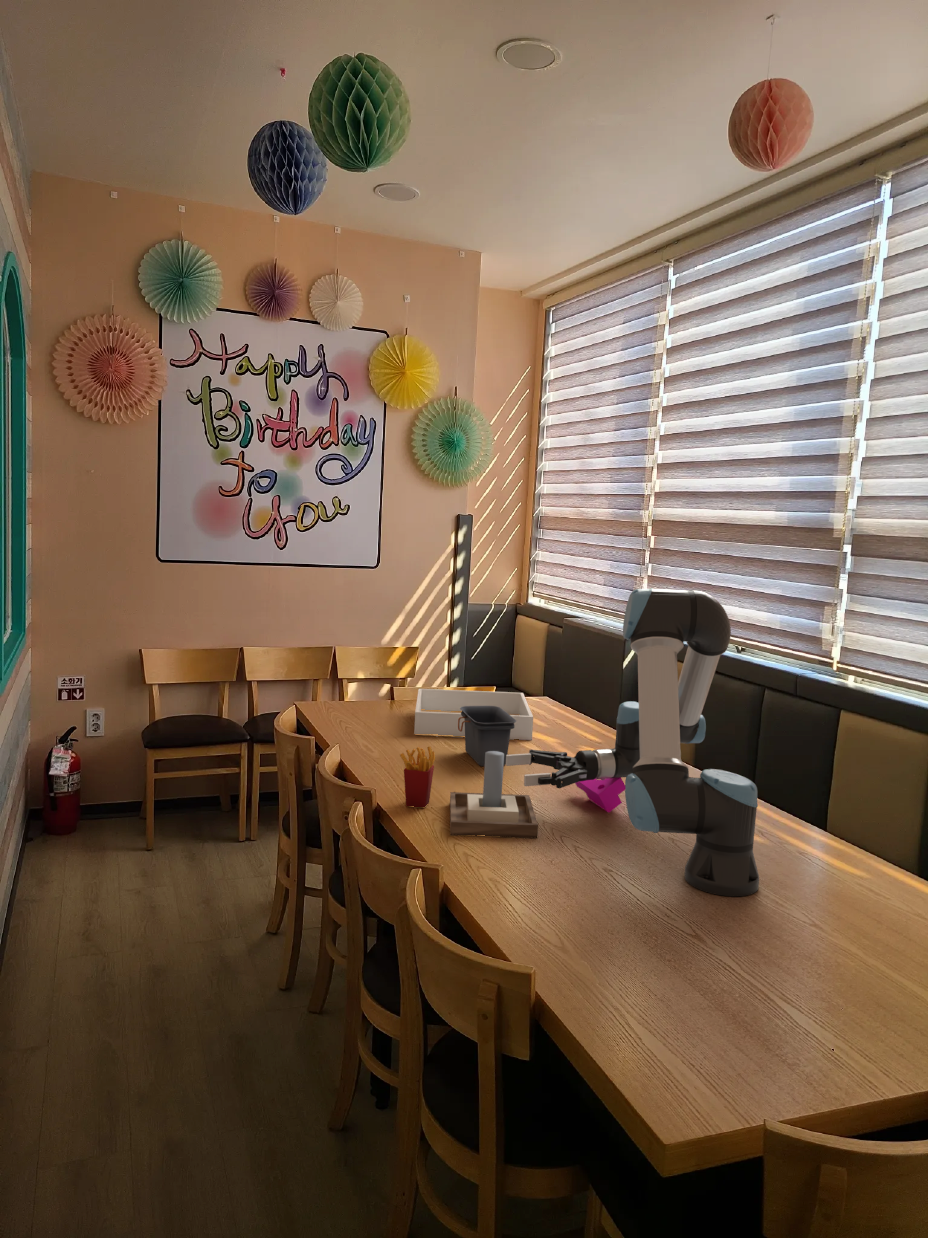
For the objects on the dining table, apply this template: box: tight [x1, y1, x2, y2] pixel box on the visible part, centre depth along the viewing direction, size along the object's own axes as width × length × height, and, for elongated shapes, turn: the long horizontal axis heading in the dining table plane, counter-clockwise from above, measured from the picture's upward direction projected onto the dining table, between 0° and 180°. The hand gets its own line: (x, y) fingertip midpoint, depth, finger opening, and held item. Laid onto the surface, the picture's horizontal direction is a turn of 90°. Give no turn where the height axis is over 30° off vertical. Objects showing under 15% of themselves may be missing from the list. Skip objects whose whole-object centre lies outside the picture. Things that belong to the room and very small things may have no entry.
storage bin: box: [458, 706, 516, 767], centre depth 277 cm, size 21×16×14 cm
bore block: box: [467, 794, 519, 823], centre depth 223 cm, size 12×12×4 cm
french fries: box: [399, 746, 436, 808], centre depth 233 cm, size 9×8×15 cm
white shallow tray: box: [413, 688, 534, 741], centre depth 322 cm, size 39×39×8 cm
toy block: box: [574, 778, 626, 813], centre depth 240 cm, size 15×6×8 cm
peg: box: [482, 751, 504, 807], centre depth 223 cm, size 5×5×16 cm
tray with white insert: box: [449, 791, 539, 839], centre depth 223 cm, size 22×20×3 cm
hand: (515, 770), depth 225 cm, fingers open, 13 cm apart
